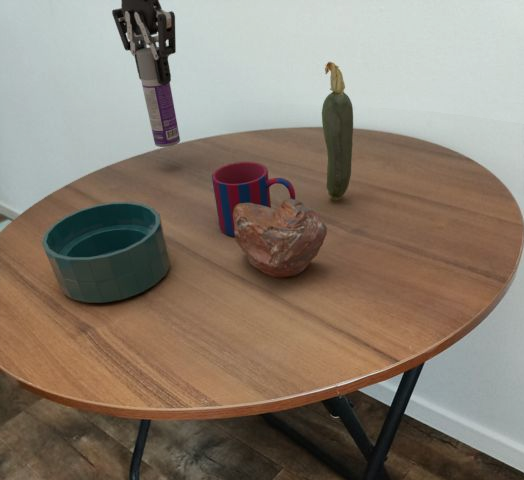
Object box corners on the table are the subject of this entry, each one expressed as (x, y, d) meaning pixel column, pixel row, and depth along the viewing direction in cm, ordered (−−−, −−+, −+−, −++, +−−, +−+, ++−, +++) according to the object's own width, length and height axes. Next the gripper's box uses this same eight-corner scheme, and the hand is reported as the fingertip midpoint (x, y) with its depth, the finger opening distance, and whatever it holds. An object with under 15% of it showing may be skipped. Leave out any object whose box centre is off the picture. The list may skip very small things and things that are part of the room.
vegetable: (356, 200, 82) (361, 59, 69) (339, 210, 80) (341, 67, 67) (334, 193, 85) (334, 56, 72) (317, 203, 83) (314, 64, 69)
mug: (235, 209, 84) (228, 159, 78) (304, 219, 79) (302, 166, 74) (210, 233, 78) (201, 181, 73) (283, 245, 74) (279, 191, 69)
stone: (330, 264, 69) (330, 193, 63) (308, 300, 64) (305, 227, 57) (245, 251, 74) (236, 183, 67) (217, 283, 68) (205, 213, 62)
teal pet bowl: (41, 280, 73) (21, 235, 68) (129, 235, 80) (117, 192, 76) (99, 321, 64) (81, 273, 60) (193, 266, 72) (183, 220, 67)
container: (179, 136, 97) (163, 45, 87) (180, 144, 94) (163, 51, 84) (154, 139, 97) (135, 48, 87) (155, 148, 93) (134, 55, 84)
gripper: (83, -40, 79) (113, 81, 91) (138, -41, 71) (164, 93, 83) (124, -47, 83) (148, 70, 94) (180, -48, 75) (199, 81, 86)
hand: (155, 80), depth 88 cm, fingers closed on container, 4 cm apart
